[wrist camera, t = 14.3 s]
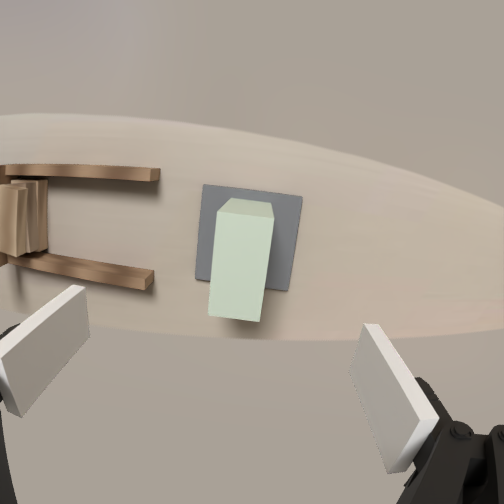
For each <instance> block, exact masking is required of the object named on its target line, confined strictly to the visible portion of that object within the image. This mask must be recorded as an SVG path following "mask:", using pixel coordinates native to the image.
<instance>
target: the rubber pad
mask: <svg viewBox="0 0 504 504" xmlns="http://www.w3.org/2000/svg"><path fill="white" fill-rule="evenodd" d="M231 198H236V199H245V200H253V201H260V202H268V203H271V205H272V210H273V215H274V225H273V232H272V239H271V246H270V253H269V260H268V267H267V274H266V281H265V288H269V289H278V290H286V291H288V287H289V281H290V275H291V269H292V263H293V257H294V250H295V244H296V238H297V231H298V225H299V218H300V211H301V205H302V198H303V197H301V196H294V195H287V194H280V193H272V192H265V191H257V190H249V189H241V188H232V187H223V186H214V185H205V184H204V185H203V191H202V201H201V211H200V222H199V233H198V245H197V257H196V271H195V279H201V280H208V281H211V270H212V259H213V248H214V238H215V228H216V218H217V211H218V210H219V209H220V208H221V207H222V206H223V205H224V204H225V203H226V202H227V201H228V200H229V199H231Z"/></svg>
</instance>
